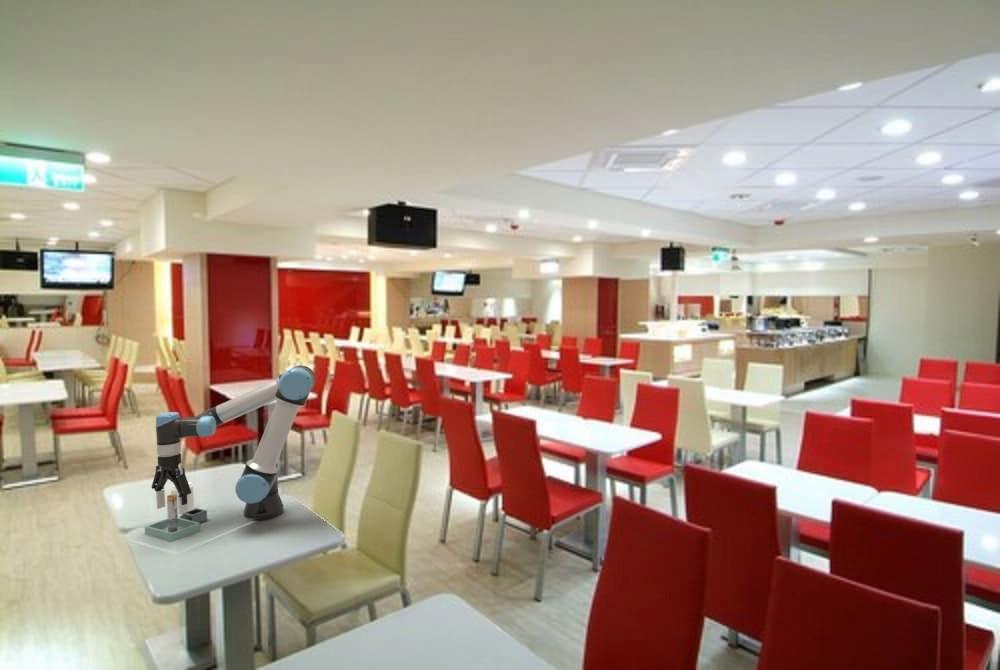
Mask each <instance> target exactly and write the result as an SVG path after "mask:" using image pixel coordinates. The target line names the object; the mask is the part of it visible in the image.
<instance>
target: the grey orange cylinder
mask: <svg viewBox="0 0 1000 670" xmlns="http://www.w3.org/2000/svg"><path fill="white" fill-rule="evenodd" d="M166 505H167V506H166V508H167V513H166V514H167V519H168V527H167V532H171V533H173V532H175V531H178V530H179V526H178V518H179V517H178V515H179V514H178V513H177V495H176V494H173V495H171V494H169V495H167V496H166Z"/></svg>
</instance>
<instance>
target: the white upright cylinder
mask: <svg viewBox="0 0 1000 670" xmlns="http://www.w3.org/2000/svg"><path fill="white" fill-rule="evenodd" d="M188 484H189V487H190V490H191V494H188V495H187V510H188V511H190V510H193V509H195V498H194V495H195V494H194V485H193V483H192V482H191V481H188ZM173 494H176V495H177V513H178V515H180V514H179V500H178V496H179V493H178V491H177V489H176V487H175V485H174V484H172V485H171V488H170V495H173Z"/></svg>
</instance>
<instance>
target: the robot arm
mask: <svg viewBox="0 0 1000 670" xmlns="http://www.w3.org/2000/svg"><path fill="white" fill-rule="evenodd" d="M316 378H317V377H316V375H315V372H314V371H313V369H312V368H310V367H309V366H306V365H295V366H293V367H290V368H288V369H287V370H285V371H284V372H283V373H282V374H280V375H277V377H276V379H275V380H272V381H270V382H268V383H265V384H263V385H261V386H258V387H257V388H254V389H252V390H250V391H248V392H246V393H243V394H241V395H238V396H236V397H234V398H232V399H230V400H227V401H225V402H223V403H220V404H218V405H216V406H214V407H212V408H209V409H205V410H204V411H202V412H201V413H198V414H197V415H196V416H189V417H181V415H180V413H179V412H177V411H169V412H163V413H159V414H158V415H156V417H155V433H156V435H155V436H156V454H157V465H156V466H155V474H154V477H153V479H152V480H153V481H152V484H151V489H152V490H154V492H155V497H156V499H155V500H156V509H157V510H159V509H162V508H166V494H165V485H166V483H167V482H168V480H169V482H171V483H173V485H175V487H176V489H177V491H178V493H179V496H178V500H179V514H178V515H182V514H183V513H186V512H188V510H187V495H188V494H191V490H190V487H189V484H188V482H189V481H188V478H187V475H186V470H185V468H184V467H182V468H180V467H179V465H180V464H181V463H182V454H181V452H182V451H181V450H182V449H181V447H182V446H181V445H182V444H181V439H182V438H183V439H185V438H200V437H202V438H204V437H210V436H213V435H215V432H216V431H217V427H218V426H222V425H224V424H225V423H227V422H230V421H232V420H234V419H236V418H239V417H241V416H243V415H246V414H248V413H250V412H252V411H255V410H257V409H259V408H261V407H264V406H265V405H268V404H270V403H273V402H274V401H276V403H275V404H274V407H273V409H272V412H271V415H270V418H269V419H268V422H267V425H266V426H265V429H264V431H263V434H262V436H261V439H260V441H259V443H258V446H257V448H256V450H255V454H254V455H253V457H252V458H251V459H248V460H247V461H246V464H245V467H244V469H243V472H242V474H241V476H240V478H239V479H237V482H236V484H235V494H236V496H237V498H238V499H239V500H240V501H241V502H243V503H245V507H244V509H243V517H244V518H247V519H250V520H251V519H252V521H264V520H270V519H274V518H276V517H278V516H281V515H282V514H283V513H284V510H285V509H284V503H283V501H282V500H281V499H282V498H281V496H280V494H279V475H278V474H279V472H278V471H279V470H278V466H279V464H278V460H279V457H280V456H281V453H282V450H283V448H284V445H285V443H286V440H287V439H288V436H289V433H290V431H291V429H292V426H293V424H294V421H295V419H296V416H297V414H298V412H299V410H300V409H301V408H302V407H305V405H306V403H307V400H308V397H309V395H310V393H311V391H312V389H313V388H314V386H315V384H316Z"/></svg>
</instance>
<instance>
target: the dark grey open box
mask: <svg viewBox="0 0 1000 670" xmlns="http://www.w3.org/2000/svg"><path fill="white" fill-rule="evenodd" d="M179 518H182V519H186V520H190V521H194V522H198V523H200V525H201V524H204V523H207V522H209V521H211V519H208V512H207V510H206V509H202V508H198V507H197V508H194V509H193V510H190V511H188V512H186V513H183V514H180V516H179Z"/></svg>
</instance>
